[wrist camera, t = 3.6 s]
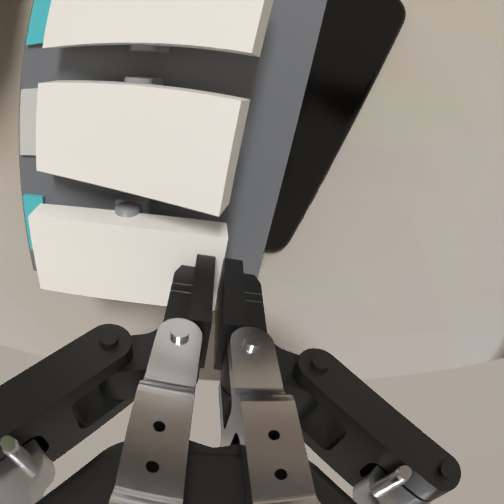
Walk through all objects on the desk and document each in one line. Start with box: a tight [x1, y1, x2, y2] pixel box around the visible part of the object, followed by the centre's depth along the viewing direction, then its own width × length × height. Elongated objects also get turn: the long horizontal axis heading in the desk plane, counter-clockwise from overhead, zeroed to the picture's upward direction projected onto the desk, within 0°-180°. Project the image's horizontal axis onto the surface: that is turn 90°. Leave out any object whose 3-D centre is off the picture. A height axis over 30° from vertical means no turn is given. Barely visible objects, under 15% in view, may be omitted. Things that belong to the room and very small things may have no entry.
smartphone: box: [265, 0, 406, 251], centre depth 14 cm, size 8×1×16 cm
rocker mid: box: [36, 77, 250, 217], centre depth 10 cm, size 8×4×2 cm, turn 79°
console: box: [19, 0, 327, 278], centre depth 12 cm, size 12×16×4 cm
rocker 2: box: [28, 202, 228, 311], centre depth 13 cm, size 8×4×2 cm, turn 78°
